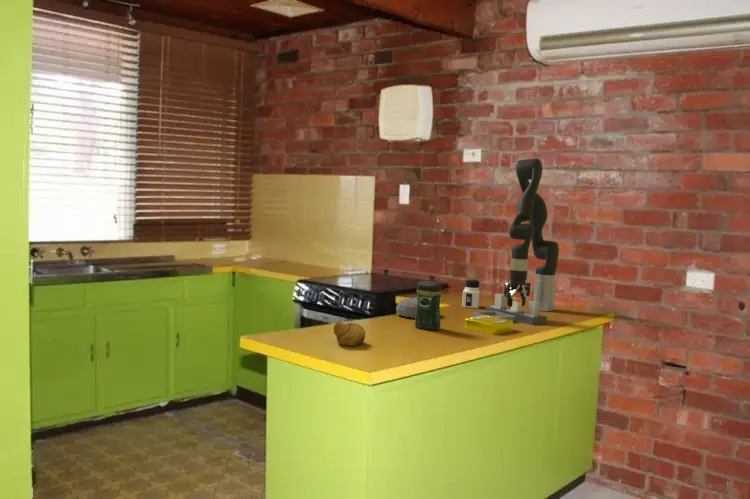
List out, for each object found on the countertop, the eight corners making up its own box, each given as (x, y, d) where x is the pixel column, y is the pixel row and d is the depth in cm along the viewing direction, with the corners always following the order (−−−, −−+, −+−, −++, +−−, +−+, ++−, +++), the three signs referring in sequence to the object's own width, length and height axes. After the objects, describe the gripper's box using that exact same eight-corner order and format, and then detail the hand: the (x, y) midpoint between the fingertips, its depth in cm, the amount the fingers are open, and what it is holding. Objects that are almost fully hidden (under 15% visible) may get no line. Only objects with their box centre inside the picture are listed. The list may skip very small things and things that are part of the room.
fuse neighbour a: (497, 313, 315) (499, 293, 315) (504, 314, 312) (505, 295, 311) (493, 313, 314) (495, 293, 313) (500, 315, 311) (501, 295, 310)
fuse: (530, 321, 299) (532, 300, 298) (537, 323, 296) (539, 302, 295) (526, 321, 298) (528, 301, 297) (533, 323, 294) (535, 302, 294)
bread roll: (347, 338, 245) (348, 316, 245) (372, 342, 241) (373, 319, 241) (330, 345, 234) (331, 321, 233) (356, 349, 230) (357, 325, 229)
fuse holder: (499, 312, 319) (500, 304, 319) (546, 323, 296) (547, 315, 296) (485, 313, 314) (486, 305, 313) (532, 324, 291) (532, 316, 290)
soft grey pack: (409, 310, 310) (388, 316, 293) (410, 292, 310) (389, 297, 292) (440, 315, 303) (420, 321, 286) (441, 296, 302) (422, 301, 285)
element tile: (494, 335, 266) (494, 323, 266) (462, 328, 276) (463, 317, 276) (514, 331, 277) (515, 319, 277) (483, 324, 287) (484, 313, 287)
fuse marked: (513, 317, 307) (515, 297, 306) (520, 318, 304) (522, 298, 303) (509, 317, 306) (511, 297, 305) (516, 319, 302) (518, 298, 302)
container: (478, 308, 325) (480, 281, 324) (461, 307, 327) (463, 279, 326) (479, 306, 333) (481, 279, 332) (463, 304, 334) (464, 278, 333)
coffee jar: (442, 328, 272) (445, 281, 271) (434, 331, 266) (437, 283, 264) (420, 324, 277) (423, 279, 276) (411, 327, 270) (414, 280, 269)
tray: (494, 316, 306) (494, 310, 306) (515, 321, 296) (516, 316, 296) (472, 318, 299) (472, 312, 299) (493, 323, 288) (494, 317, 288)
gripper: (523, 267, 310) (521, 303, 312) (500, 268, 302) (498, 305, 303) (536, 269, 304) (533, 306, 305) (513, 270, 296) (510, 308, 297)
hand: (516, 306), depth 304 cm, fingers open, 7 cm apart
